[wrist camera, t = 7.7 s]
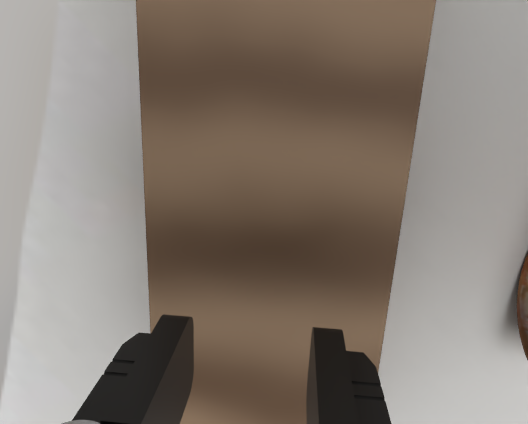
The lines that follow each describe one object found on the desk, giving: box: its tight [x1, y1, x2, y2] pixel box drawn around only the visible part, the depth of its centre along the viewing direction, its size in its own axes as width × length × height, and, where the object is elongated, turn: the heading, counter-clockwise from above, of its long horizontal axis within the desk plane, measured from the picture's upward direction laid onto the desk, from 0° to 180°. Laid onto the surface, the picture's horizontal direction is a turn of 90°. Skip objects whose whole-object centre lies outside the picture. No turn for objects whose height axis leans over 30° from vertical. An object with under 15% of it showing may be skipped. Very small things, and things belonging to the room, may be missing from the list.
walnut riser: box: [136, 0, 436, 424], centre depth 18 cm, size 22×10×3 cm, turn 177°
